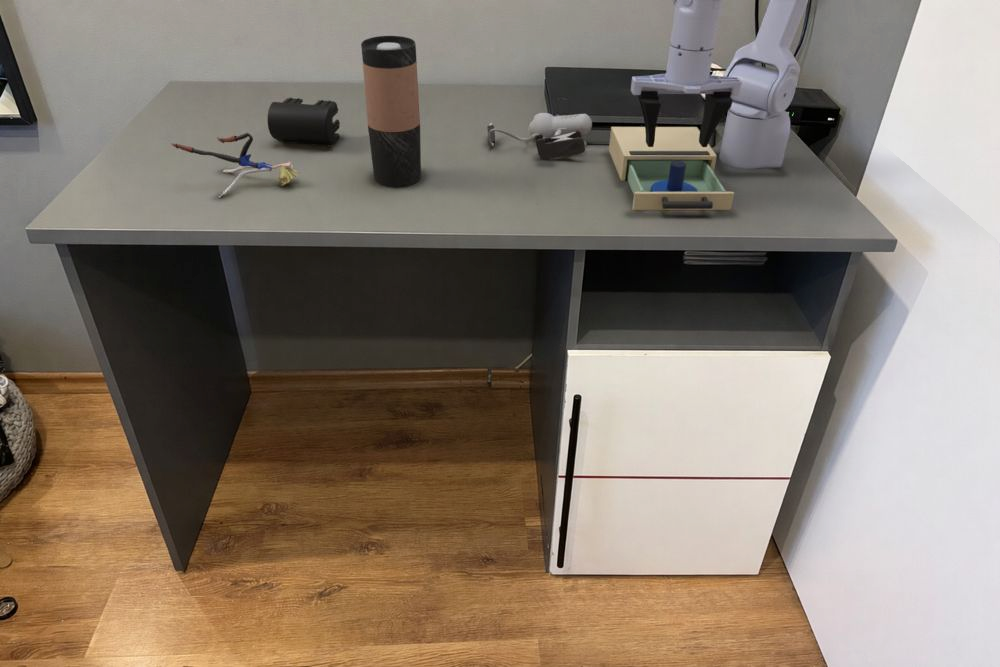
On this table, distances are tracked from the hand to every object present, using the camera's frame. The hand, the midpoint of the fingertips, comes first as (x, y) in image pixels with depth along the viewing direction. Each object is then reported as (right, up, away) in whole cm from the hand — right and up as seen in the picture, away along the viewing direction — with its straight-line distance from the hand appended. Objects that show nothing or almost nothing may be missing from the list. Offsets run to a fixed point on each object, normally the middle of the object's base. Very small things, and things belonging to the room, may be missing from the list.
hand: (676, 144), depth 107 cm
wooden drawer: (+1, -7, +4) cm, 8 cm away
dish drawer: (0, -1, +13) cm, 13 cm away
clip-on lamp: (-19, +4, +19) cm, 27 cm away
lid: (+1, -6, +4) cm, 7 cm away
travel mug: (-41, -3, +9) cm, 42 cm away
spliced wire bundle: (-63, -5, +6) cm, 63 cm away
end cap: (-57, +5, +20) cm, 61 cm away
